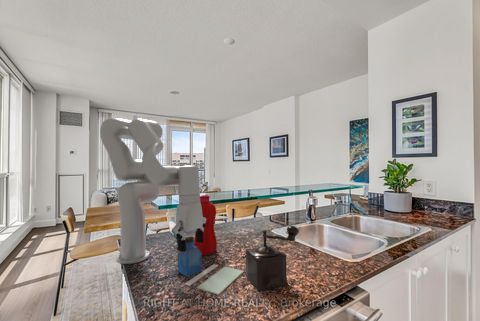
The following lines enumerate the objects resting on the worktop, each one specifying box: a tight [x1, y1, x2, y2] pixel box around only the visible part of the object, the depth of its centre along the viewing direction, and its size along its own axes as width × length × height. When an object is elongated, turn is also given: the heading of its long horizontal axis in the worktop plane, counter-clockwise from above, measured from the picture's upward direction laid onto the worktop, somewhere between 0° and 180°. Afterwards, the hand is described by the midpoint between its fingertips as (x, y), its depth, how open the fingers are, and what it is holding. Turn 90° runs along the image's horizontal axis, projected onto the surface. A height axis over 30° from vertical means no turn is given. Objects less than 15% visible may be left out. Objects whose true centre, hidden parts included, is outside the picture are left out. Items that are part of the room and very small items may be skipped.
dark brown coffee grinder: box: [245, 225, 300, 292], centre depth 76 cm, size 16×11×18 cm
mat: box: [196, 266, 245, 296], centre depth 76 cm, size 8×16×1 cm, turn 151°
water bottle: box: [193, 194, 218, 256], centre depth 101 cm, size 9×11×25 cm
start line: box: [184, 263, 219, 287], centre depth 80 cm, size 2×16×1 cm, turn 151°
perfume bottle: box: [177, 236, 203, 278], centre depth 83 cm, size 6×6×12 cm
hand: (191, 246), depth 82 cm, fingers open, 9 cm apart
